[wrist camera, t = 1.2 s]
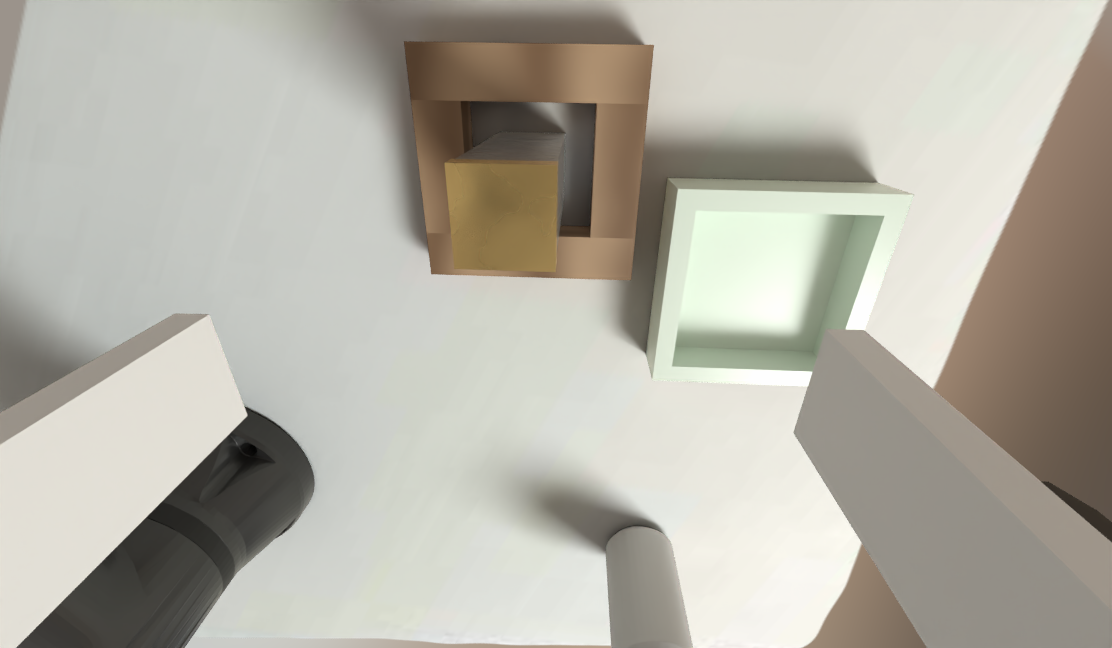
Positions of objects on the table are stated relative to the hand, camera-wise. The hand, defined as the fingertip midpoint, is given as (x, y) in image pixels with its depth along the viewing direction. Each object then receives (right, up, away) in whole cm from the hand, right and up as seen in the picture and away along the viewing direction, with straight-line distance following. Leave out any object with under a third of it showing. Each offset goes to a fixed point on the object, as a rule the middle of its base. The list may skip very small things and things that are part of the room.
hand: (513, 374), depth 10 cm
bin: (+14, +4, +22) cm, 26 cm away
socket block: (0, +11, +19) cm, 22 cm away
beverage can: (+9, -20, +35) cm, 41 cm away
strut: (0, +11, +19) cm, 22 cm away
